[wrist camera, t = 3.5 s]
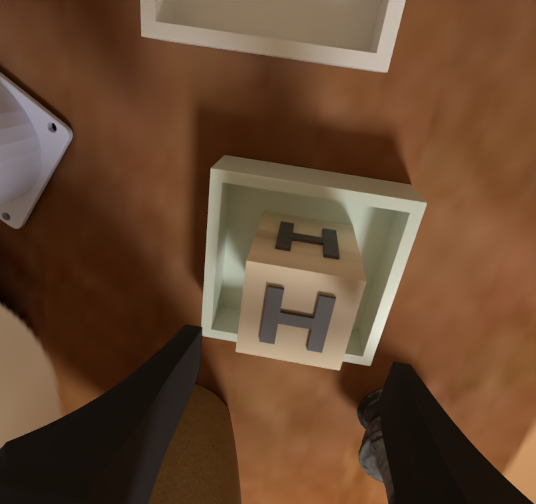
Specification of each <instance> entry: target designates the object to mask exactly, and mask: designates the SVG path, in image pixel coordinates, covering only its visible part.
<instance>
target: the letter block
mask: <svg viewBox="0 0 536 504" xmlns="http://www.w3.org/2000/svg"><path fill="white" fill-rule="evenodd" d="M365 285H366V277H365V273H364V269H363V265H362V260H361V256H360V252H359V248H358V244H357V240H356V236H355V232H354V228H353V225H347V224H341V223H335V222H329V221H323V220H317V219H311V218H305V217H299V216H293V215H287V214H281V213H275V212H269V211H264V213H263V216H262V218H261V221H260V224H259V227H258V229H257V232H256V235H255V238H254V241H253V243H252V246H251V249H250V252H249V255H248V257H247V260H246V268H245V277H244V285H243V294H242V302H241V310H240V319H239V327H238V336H237V344H236V352H240V353H246V354H251V355H257V356H262V357H268V358H273V359H279V360H284V361H290V362H295V363H300V364H306V365H311V366H317V367H322V368H328V369H333V370H339V371H340V368H341V365H342V361H343V358H344V355H345V351H346V348H347V345H348V341H349V338H350V335H351V331H352V328H353V325H354V321H355V318H356V315H357V311H358V308H359V305H360V301H361V298H362V295H363V291H364V288H365Z"/></svg>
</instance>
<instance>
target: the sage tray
mask: <svg viewBox="0 0 536 504" xmlns="http://www.w3.org/2000/svg"><path fill="white" fill-rule="evenodd" d="M426 205H427V202H426V201H425V200H424V198H423V197H422V196H421V195H420V194H419V193H418V191H417V190H416V189H415V188H414V187H413V185H411V184H405V183H398V182H392V181H386V180H380V179H373V178H367V177H361V176H354V175H348V174H342V173H336V172H329V171H323V170H317V169H310V168H304V167H298V166H292V165H285V164H279V163H273V162H266V161H260V160H254V159H248V158H241V157H235V156H229V155H224V156H223V157H222V158H221V159H220V160H219V161H218V162H217V163H215V164H214V165H213V166H212V167H211V171H210V188H209V205H208V222H207V239H206V256H205V272H204V289H203V306H202V323H201V327H203V328H202V336H206V337H212V338H217V339H223V340H228V341H234V342H237V336H238V327H239V319H240V310H241V302H242V294H243V285H244V277H245V268H246V260H247V257H248V255H249V252H250V249H251V246H252V243H253V241H254V238H255V235H256V232H257V229H258V227H259V224H260V221H261V218H262V216H263V213H264V211H269V212H275V213H281V214H287V215H293V216H299V217H305V218H311V219H317V220H323V221H329V222H335V223H341V224H347V225H353V228H354V232H355V236H356V240H357V244H358V248H359V252H360V256H361V260H362V265H363V269H364V273H365V277H366V285H365V288H364V291H363V295H362V298H361V301H360V305H359V308H358V311H357V315H356V318H355V321H354V325H353V328H352V331H351V335H350V338H349V341H348V345H347V348H346V351H345V355H344V358H343V361H344V362H350V363H355V364H361V365H366V366H371V363H372V360H373V357H374V354H375V351H376V348H377V346H378V343H379V340H380V337H381V334H382V331H383V328H384V325H385V323H386V320H387V317H388V314H389V311H390V308H391V305H392V303H393V300H394V297H395V294H396V291H397V288H398V285H399V282H400V280H401V277H402V274H403V271H404V268H405V265H406V262H407V259H408V257H409V254H410V251H411V248H412V245H413V242H414V239H415V237H416V234H417V231H418V228H419V225H420V222H421V219H422V216H423V214H424V211H425V208H426Z"/></svg>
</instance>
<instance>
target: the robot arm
mask: <svg viewBox="0 0 536 504" xmlns="http://www.w3.org/2000/svg"><path fill="white" fill-rule="evenodd" d="M52 123H54V124H55V125H56V127H57V131H55V130H54V129H53V127H52ZM72 137H73V133H72V130H71V129H70V128H69V126H68V125H66V124H65V123H64V122H62V121H61V120H60V119H59V118H57V117H56V116H55V115H54V114H52V113H51V112H50V111H49V110H47V109H46V108H45V107H44V106H42V105H41V104H40V103H39V102H37V101H36V100H35V99H34V98H32V97H31V96H30V95H29V94H27V93H26V92H25V91H24V90H22V89H21V88H20V87H18V86H17V85H16V84H15V83H13V82H12V81H11V80H10V79H8V78H7V77H6V76H5V75H3V74H2V73H1V72H0V219H1V220H2V221H3V222H5V223H6V224H8V225H9V226H11V227H12V228H15V229H18V228H21V227H23V226H24V225H25V223H26V221H27V219H28V218H29V216H30V214H31V212H32V210H33V209H34V207H35V205H36V203H37V201H38V200H39V198H40V196H41V194H42V192H43V191H44V189H45V187H46V185H47V183H48V182H49V180H50V178H51V176H52V174H53V172H54V171H55V169H56V167H57V165H58V163H59V162H60V160H61V158H62V156H63V154H64V153H65V151H66V149H67V147H68V145H69V144H70V142H71V140H72ZM7 213H8V214H9V216H10V217H9V216H8V215H7ZM202 328H203V327H198V326H192V325H185V326H184V327H183V328H182V329H181V330H180V331H179V332H178V333H177V334H176V335H175V336H174V337H173V338H172V339H171V340H170V341H169V342H168V343H167V344H166V345H165V346H164V347H163V348H162V349H160V350H159V351H158V352H157V353H156V354H155V355H154V356H153V357H152V358H150V359H149V360H148V361H147V362H146V363H144V364H143V365H142V366H141V367H140V368H138V369H137V370H136V371H135V372H133V373H132V374H131V375H130V376H128V377H127V378H126V379H124V380H123V381H121V382H120V383H119V384H117V385H116V386H114V387H113V388H111V389H110V390H108V391H107V392H105V393H104V394H102V395H101V396H99V397H97V398H96V399H94V400H93V401H91V402H89V403H88V404H86V405H84V406H83V407H81V408H79V409H77V410H75V411H73V412H72V413H70V414H68V415H66V416H64V417H62V418H60V419H58V420H56V421H54V422H52V423H50V424H48V425H46V426H44V427H41V428H39V429H37V430H35V431H32V432H30V433H27V434H25V435H23V436H20V437H18V438H16V439H13V440H11V441H8V442H6V443H5V444H4V446H3V447H2V448H1V449H0V504H148V502H149V499H150V496H151V493H152V490H153V487H154V484H155V481H156V478H157V476H158V473H159V470H160V467H161V464H162V461H163V458H164V456H165V453H166V451H167V448H168V446H169V444H170V441H171V439H172V437H173V435H174V433H175V430H176V428H177V426H178V424H179V421H180V419H181V417H182V415H183V412H184V410H185V408H186V406H187V403H188V401H189V399H190V397H191V394H192V392H193V389H194V386H195V382H196V379H197V376H198V373H199V370H200V361H201V345H202ZM379 412H380V423H381V431H382V436H383V441H384V445H385V450H386V455H387V460H388V464H389V469H390V474H391V478H392V483H393V488H394V493H395V498H396V504H534V503H533V502H531V501H530V500H529V499H528V498H527V497H526V496H524V495H523V494H522V493H521V492H520V491H519V490H518V489H517V488H516V487H515V486H513V485H512V484H511V483H510V482H509V481H508V480H507V479H506V478H505V477H504V476H503V475H502V474H501V473H500V472H499V471H498V470H497V469H496V468H495V467H494V466H493V465H492V464H491V463H490V462H489V461H488V460H487V459H486V458H485V457H484V456H483V455H482V454H481V453H480V452H479V451H478V450H477V449H476V448H475V446H474V445H473V444H472V443H471V442H470V441H469V440H468V439H467V437H466V436H465V435H464V434H463V433H462V432H461V430H460V429H459V428H458V427H457V426H456V425H455V423H454V422H453V421H452V420H451V418H450V417H449V416H448V415H447V413H446V412H445V411H444V410H443V408H442V407H441V406H440V404H439V403H438V402H437V400H436V399H435V398H434V396H433V395H432V394H431V392H430V391H429V390H428V388H427V387H426V386H425V384H424V383H423V381H422V380H421V379H420V377H419V376H418V374H417V373H416V372H415V370H414V369H413V368H412V366H411V365H409V364H403V363H398V362H393V365H392V367H391V370H390V373H389V375H388V378H387V380H386V383H385V386H384V388H383V391H382V393H381V396H380V399H379Z"/></svg>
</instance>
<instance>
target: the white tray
mask: <svg viewBox="0 0 536 504" xmlns="http://www.w3.org/2000/svg"><path fill="white" fill-rule="evenodd" d="M405 1H406V0H140V4H141V36H142V37H147V38H152V39H158V40H163V41H169V42H176V43H182V44H189V45H196V46H203V47H210V48H216V49H223V50H230V51H237V52H244V53H251V54H257V55H264V56H271V57H278V58H285V59H292V60H298V61H305V62H312V63H319V64H326V65H332V66H339V67H346V68H353V69H360V70H367V71H373V72H388V68H389V64H390V60H391V56H392V52H393V48H394V44H395V40H396V36H397V32H398V29H399V25H400V21H401V17H402V13H403V9H404V5H405Z"/></svg>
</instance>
